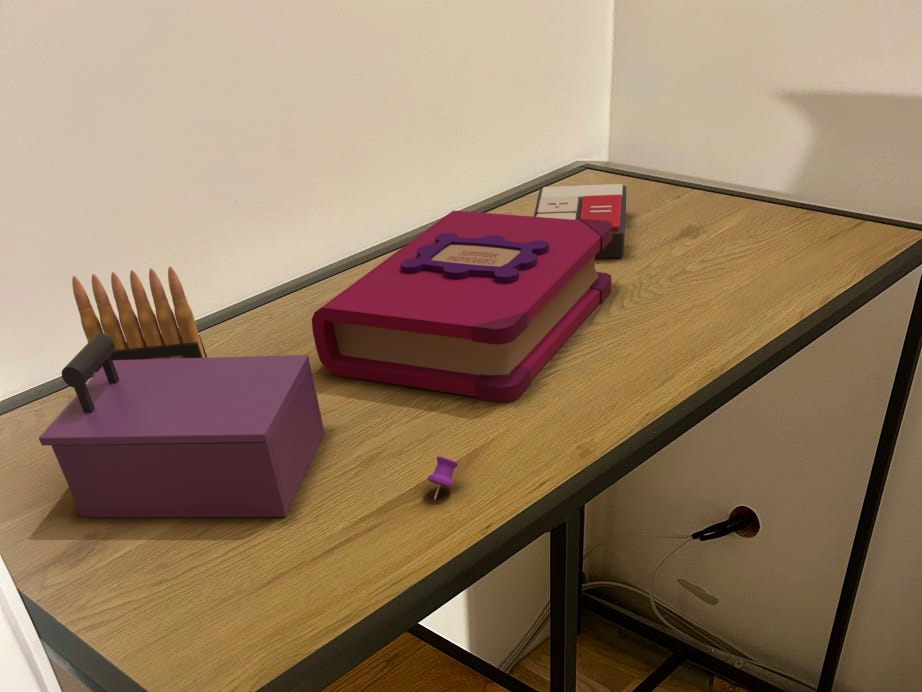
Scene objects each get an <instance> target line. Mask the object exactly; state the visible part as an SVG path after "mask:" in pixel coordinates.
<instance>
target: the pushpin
mask: <svg viewBox="0 0 922 692" xmlns="http://www.w3.org/2000/svg"><path fill="white" fill-rule="evenodd" d="M436 462H437V463H436V467H435V468H434V471H433V473H431V474H430V475H428V477H427V481H429V482H430V483H433V484H435V485H437V488H436V491H435V493H434V497H433V501H435V500H436V499H437V498H438V497H437V496H438V494H439V491H440V488H441V487H444V488H447V489H453V487H454V483H453V479H452V478H453V475H454V470H455V468H457V467H458V466H459V462H456V461H454V460H452V459H450V458H447V457H443V456H436Z"/></svg>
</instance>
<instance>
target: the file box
mask: <svg viewBox="0 0 922 692" xmlns="http://www.w3.org/2000/svg"><path fill="white" fill-rule="evenodd" d="M313 375H314V374H313V370H312V366H311V362H309V364H308V366H307V368H306V370H305V372H304V374H303V375H302V377H301V379H300V381H299V383H298V385H297V387H296V388H295V390H294V392H293V394H292V396H291V398H290V400H289V401H288V403H287V405H286V407H285V409H284V411H283V413H282V414H281V416H280V418H279V420H278V422H277V424H276V425H275V427H274V429H273V431H272V433H271V435H270V437H269V438H268V440H267V442H238V443H173V444H108V445H51V448H52V451H53V453H54V455H55V457H56V460H57V462H58V464H59V467H60V469H61V472H62V474H63V477H64V479H65V481H66V484H67V486H68V488H69V490H70V493H71V495H72V497H73V500H74V502H75V505H76V507H77V510H78V511H79V514H80V517H81V519H82V518H286V517H287V515H288V513H289V511H290V509H291V507H292V505H293V503H294V500H295V498H296V496H297V494H298V492H299V490H300V487H301V485H302V483H303V481H304V478H305V476H306V474H307V472H308V470H309V467H310V466H311V463H312V461H313V459H314V456H315V454H316V452H317V450H318V448H319V446H320V443H321V441H322V439H323V437H324V435H325V433H326V432H325V428H324V424H323V418H322V414H321V413H322V412H321V408H320V404H319V399H318V394H317V390H316V385H315V380H314V376H313Z"/></svg>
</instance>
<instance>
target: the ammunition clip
mask: <svg viewBox="0 0 922 692" xmlns="http://www.w3.org/2000/svg"><path fill="white" fill-rule="evenodd" d="M148 279H149V281H148V282H149V288H150V293H151V297H152V300H153V304H154V309H155V312H154V310H153V308H152V306H151V303H150V301H149V298H148V296H147V292H146V290H145V287H144V285H143V283H142V281H141V279H140V277H139V276H138V275H137V273H136V272H135V271H134V270H133V269H132V270H130V273H129V281H130V282H129V283H130V288H131V289H130V290H131V293H132V297H133V300H134V305H135V308H136V312H135V311H134V308H133V306H132V304H131V301H130V299H129V296H128V294H127V291H126V288H125V286H124V285H123V283H122V281H121V279H120V278H119V276H118V275H117V273H115V272H114V271H112V272H111V275H110V282H111V290H112V294H113V299H114V301H115V306H116V309H117V314H118V316H117V314H116V312H115V311H114V308H113V305H112V303H111V301H110V298H109V296H108V294H107V291H106V289H105V287H104V285H103V283H102V282H101V280H100V279H99V278H98V276H97V275H96V274H95V273H92V274H91V288H92V293H93V298H94V301H95V304H96V308H97V311H98V314H99V318H98V316H97V315H96V313H95V310H94V307H93V305H92V303H91V301H90V298H89V296H88V294H87V293H88V292H87V291H86V289H85V288H84V286H83V284H82V283H81V281H80V280H79V279H78V278H77V277H76V275H73V276H72V280H71V284H72V285H71V286H72V292H73V295H74V300H75V303H76V305H77V310H78V313H79V317H80V324H81V327H82V329H83V332H84V335H85V339H86V341H87V343H88V342H89V341H90V340H91V339H92V338H93V337H94V336H95V335H97V334H105V335H107V336H108V337H110V338H111V339H112V341H113V342H114V346H115V349H114V352H113V353H112V354H111V357H112V360H142V359H178V358H208V355H207V353H206V349H205V346H204V343H203V341H202V340H203V339H202V338H201V335H200V333H199V331H198V327H197V324H196V320H195V317H194V314H193V311H192V308H191V306H190V304H189V301H188V299H187V296H186V293H185V291H184V288H183V285H182V282H181V280H180V278H179V276H178V274H177V273H176V270H175V269H174V268H173V267H172V266H168V270H167V279H168V281H167V282H168V288H169V291H170V295H171V299H172V305H173V309H174V312H173V309H172V307H171V305H170V302H169V300H168V298H167V294H166V292H165V289H164V286H163V284H162V282H161V279H160V278H159V276H158V274H157V272H156V271H155V270H154V269H153V268H149V271H148ZM101 367H102V365H101V366H100V367H99V368H98V370H97V371H96V372H95V374H96V373H97V372H98V371H99V370H100V369H101Z"/></svg>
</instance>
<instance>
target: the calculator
mask: <svg viewBox="0 0 922 692" xmlns="http://www.w3.org/2000/svg"><path fill="white" fill-rule="evenodd" d="M533 217H545V218H559V219H572V220H580V219H591V220H605V221H609V222H612V241H611V242H610V243H609V244H608V245H607V246H606V247H605V248H604V249H603V250H602V251H599V252H598V253H597V254H596V255H595V259H597V260H598V259H621V258H624V254H625V234H626V222H627V221H626V218H627V186H626V185H624V184H622V183H605V184H585V185H582V184H581V185H562V186H561V185H559V186H544V187H542V188H541V189H539V191H538V196H537V199H536V204H535V209H534V212H533Z"/></svg>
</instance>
